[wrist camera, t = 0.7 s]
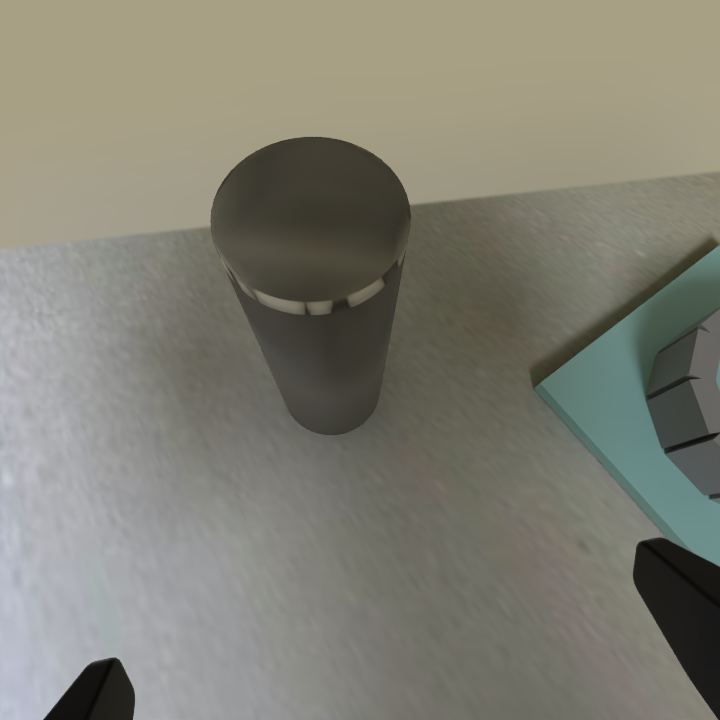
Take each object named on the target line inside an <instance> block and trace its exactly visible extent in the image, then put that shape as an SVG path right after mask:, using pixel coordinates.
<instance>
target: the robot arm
mask: <svg viewBox="0 0 720 720" xmlns="http://www.w3.org/2000/svg"><path fill="white" fill-rule="evenodd" d="M633 580H634V583H635V586H636V588H637V590H638V592H639V594H640V595H641V597H642V599H643V600H644V602H645V604H646V606H647V607H648V609H649V611H650V612H651V614H652V616H653V618H654V619H655V621H656V623H657V624H658V626H659V628H660V630H661V631H662V633H663V635H664V636H665V638H666V640H667V642H668V643H669V645H670V647H671V649H672V650H673V652H674V654H675V655H676V657H677V659H678V661H679V662H680V664H681V665H682V667H683V669H684V670H685V672H686V674H687V675H688V677H689V678H690V680H691V681H692V683H693V684H694V686H695V687H696V689H697V690H698V692H699V693H700V694H701V696H702V697H703V699H704V700H705V702H706V703H707V704H708V706H709V707H710V709H711V710H712V711H713V713H714V714H715V716H716V717H717V719H718V720H720V566H718V565H716V564H714V563H712V562H710V561H708V560H706V559H704V558H702V557H700V556H698V555H696V554H695V553H693V552H691V551H689V550H687V549H685V548H683V547H681V546H679V545H677V544H675V543H673V542H671V541H669V540H667V539H664V538H653V539H648V540H644V541H641V542H639V543H638V545H637V547H636V554H635V562H634V569H633ZM134 707H135V693H134V689H133V686H132V684H131V682H130V680H129V678H128V676H127V674H126V672H125V669H124V667H123V665H122V663H121V662H120V660H119V659H117V658H108V659H104V660H99V661H95V662H92V663H91V664H89V665H88V666H87V667H86V668H85V669H84V670H83V671H82V673H81V674H80V675H79V676H78V678H77V679H76V680H75V681H74V682H73V684H72V685H71V686H70V687H69V689H68V690H67V691H66V692H65V694H64V695H63V696H62V697H61V698H60V700H59V701H58V702H57V703H56V705H55V706H54V707H53V708H52V710H51V711H50V712H49V713H48V715H47V716H46V717H45V718H44V719H43V720H133V715H134Z"/></svg>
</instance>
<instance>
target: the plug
mask: <svg viewBox="0 0 720 720" xmlns="http://www.w3.org/2000/svg"><path fill="white" fill-rule="evenodd" d="M410 218H411V215H410V205H409V202H408V198H407V194H406V192H405V190H404V188H403V185H402V184H401V182H400V180H399V179H398V177H397V176H396V175H395V173H394V172H393V171H392V170H391V168H390V167H388V165H386V164H385V163H384V162H383V161H382V160H381V159H379V158H378V157H377V156H375V155H374V154H373V153H371V152H369V151H367V150H365V149H363V148H361V147H359V146H357V145H354V144H352V143H349V142H345V141H342V140H337V139H331V138H324V137H302V138H294V139H288V140H284V141H280V142H277V143H274V144H271V145H268V146H266V147H264V148H262V149H260V150H258V151H256V152H254V153H253V154H251V155H249V156H248V157H246V158H245V159H244V160H242V161H241V162H240V163H239V164H238V165H237V166H236V167H235V168H234V169H233V170H231V172H230V173H229V174H228V176H227V177H226V178H225V179H224V181H223V182H222V184H221V186H220V187H219V189H218V191H217V194H216V196H215V199H214V202H213V206H212V210H211V233H212V237H213V241H214V244H215V246H216V249H217V251H218V254H219V256H220V258H221V260H222V262H223V265H224V267H225V269H226V271H227V274H228V276H229V278H230V280H231V283H232V285H233V287H234V289H235V292H236V294H237V296H238V298H239V301H240V303H241V305H242V307H243V309H244V312H245V314H246V316H247V318H248V321H249V323H250V325H251V327H252V330H253V332H254V334H255V336H256V339H257V341H258V343H259V345H260V347H261V350H262V352H263V354H264V356H265V359H266V361H267V363H268V365H269V368H270V370H271V372H272V374H273V377H274V379H275V381H276V383H277V386H278V388H279V390H280V392H281V394H282V397H283V399H284V401H285V403H286V406H287V408H288V410H289V412H290V413H291V415H292V416H293V417H294V419H295V420H296V421H297V422H298V423H299V424H301V425H302V426H303V427H305V428H307V429H308V430H310V431H313V432H316V433H319V434H325V435H337V434H343V433H346V432H349V431H351V430H354V429H355V428H357V427H359V426H360V425H361V424H363V423H364V422H365V421H366V420H367V419H368V418H369V417H370V415H371V414H372V413H373V411H374V409H375V407H376V405H377V402H378V398H379V393H380V388H381V382H382V377H383V372H384V366H385V361H386V355H387V350H388V344H389V339H390V333H391V328H392V322H393V317H394V312H395V306H396V301H397V295H398V290H399V284H400V279H401V273H402V268H403V262H404V257H405V252H406V246H407V241H408V235H409V230H410Z"/></svg>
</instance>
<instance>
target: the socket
mask: <svg viewBox="0 0 720 720" xmlns="http://www.w3.org/2000/svg"><path fill="white" fill-rule="evenodd" d="M534 389H535V391H536V392H537V393H538V394H539V395H540V396H541V397H542V398H543V399H544V401H545V402H546V403H547V404H548V405H549V406H550V407H551V408H552V410H553V411H554V412H555V413H556V414H557V415H558V416H559V417H560V419H561V420H562V421H563V422H564V423H565V424H566V425H567V426H568V427H569V429H570V430H571V431H572V432H573V433H574V434H575V435H576V436H577V438H578V439H579V440H580V441H581V442H582V443H583V444H584V445H585V447H586V448H587V449H588V450H589V451H590V452H591V453H592V454H593V455H594V457H595V458H596V459H597V460H598V461H599V462H600V463H601V464H602V466H603V467H604V468H605V469H606V470H607V471H608V472H609V473H610V475H611V476H612V477H613V478H614V479H615V480H616V481H617V482H618V483H619V485H620V486H621V487H622V488H623V489H624V490H625V491H626V492H627V494H628V495H629V496H630V497H631V498H632V499H633V500H634V501H635V503H636V504H637V505H638V506H639V507H640V508H641V509H642V510H643V511H644V513H645V514H646V515H647V516H648V517H649V518H650V519H651V520H652V522H653V523H654V524H655V525H656V526H657V527H658V528H659V529H660V530H661V532H662V533H663V534H664V535H665V536H666V537H667V538H668V539H669V541H671V542H673V543H675V544H677V545H679V546H681V547H683V548H685V549H687V550H689V551H691V552H693V553H695V554H696V555H698V556H700V557H702V558H704V559H706V560H708V561H710V562H712V563H714V564H716V565H718V566H720V245H719V246H717V247H716V248H715V249H713V250H712V251H711V252H709V253H708V254H707V255H706V256H704V257H703V258H702V259H700V260H699V261H698V262H697V263H695V264H694V265H693V266H691V267H690V268H689V269H687V270H686V271H685V272H684V273H682V274H681V275H680V276H678V277H677V278H676V279H674V280H673V281H672V282H671V283H669V284H668V285H667V286H665V287H664V288H663V289H661V290H660V291H659V292H658V293H656V294H655V295H654V296H652V297H651V298H650V299H648V300H647V301H646V302H645V303H643V304H642V305H641V306H639V307H638V308H637V309H635V310H634V311H633V312H632V313H630V314H629V315H628V316H626V317H625V318H624V319H622V320H621V321H620V322H619V323H617V324H616V325H615V326H613V327H612V328H611V329H609V330H608V331H607V332H606V333H604V334H603V335H602V336H600V337H599V338H598V339H596V340H595V341H594V342H593V343H591V344H590V345H589V346H587V347H586V348H585V349H583V350H582V351H581V352H580V353H578V354H577V355H576V356H574V357H573V358H572V359H570V360H569V361H568V362H567V363H565V364H564V365H563V366H561V367H560V368H559V369H557V370H556V371H555V372H554V373H552V374H551V375H550V376H548V377H547V378H546V379H544V380H543V381H542V382H541V383H539V384H538V385H537V386H536V387H535V388H534Z"/></svg>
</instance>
